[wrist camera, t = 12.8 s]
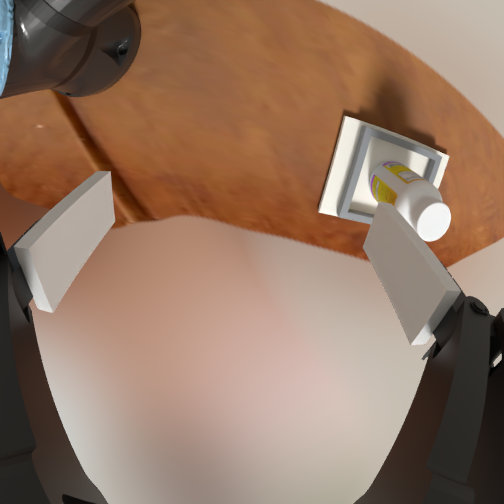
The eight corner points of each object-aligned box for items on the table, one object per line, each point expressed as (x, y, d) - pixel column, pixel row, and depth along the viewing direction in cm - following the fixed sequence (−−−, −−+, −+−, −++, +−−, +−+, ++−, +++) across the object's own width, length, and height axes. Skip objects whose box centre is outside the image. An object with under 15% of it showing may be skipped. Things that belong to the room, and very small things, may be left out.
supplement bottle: (385, 211, 39) (425, 260, 28) (358, 181, 37) (397, 224, 26) (415, 182, 36) (464, 222, 25) (391, 149, 34) (442, 181, 23)
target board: (317, 210, 40) (320, 217, 38) (343, 115, 33) (349, 117, 31) (416, 232, 41) (422, 240, 40) (446, 154, 34) (454, 159, 32)
